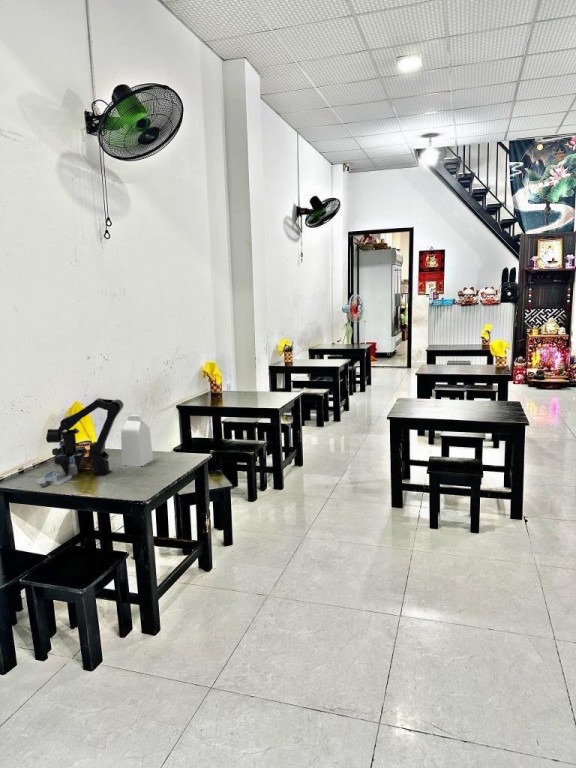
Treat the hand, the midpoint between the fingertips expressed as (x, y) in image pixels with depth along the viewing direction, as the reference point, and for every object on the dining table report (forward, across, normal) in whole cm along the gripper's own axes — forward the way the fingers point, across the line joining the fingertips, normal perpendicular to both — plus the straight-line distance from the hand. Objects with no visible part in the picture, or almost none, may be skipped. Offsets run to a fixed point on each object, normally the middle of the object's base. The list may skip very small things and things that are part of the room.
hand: (72, 471), depth 267 cm
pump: (+1, 0, 0) cm, 1 cm away
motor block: (+1, +12, -3) cm, 12 cm away
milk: (+2, -22, +24) cm, 33 cm away
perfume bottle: (+2, -16, -16) cm, 23 cm away
